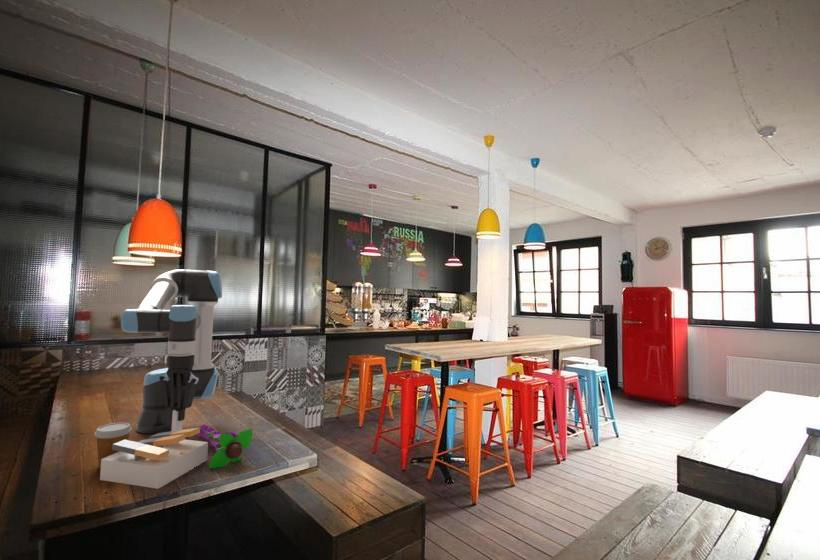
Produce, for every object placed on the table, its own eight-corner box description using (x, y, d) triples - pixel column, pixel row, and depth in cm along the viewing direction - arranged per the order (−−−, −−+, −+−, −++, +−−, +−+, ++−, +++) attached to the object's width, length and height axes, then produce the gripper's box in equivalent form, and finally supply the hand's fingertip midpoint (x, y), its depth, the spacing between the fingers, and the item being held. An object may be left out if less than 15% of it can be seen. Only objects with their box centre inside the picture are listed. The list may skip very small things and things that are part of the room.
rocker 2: (149, 442, 131) (148, 437, 131) (159, 437, 135) (158, 433, 135) (191, 436, 128) (190, 431, 128) (200, 432, 132) (199, 427, 132)
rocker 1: (112, 449, 118) (112, 444, 118) (124, 444, 122) (124, 439, 122) (157, 460, 115) (158, 454, 115) (168, 454, 119) (169, 449, 119)
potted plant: (223, 485, 124) (189, 459, 149) (267, 447, 135) (228, 428, 160) (203, 455, 121) (171, 433, 146) (250, 418, 132) (213, 403, 157)
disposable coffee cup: (105, 458, 131) (108, 421, 132) (136, 458, 132) (138, 422, 133) (84, 471, 122) (87, 431, 122) (117, 471, 123) (119, 432, 123)
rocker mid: (131, 449, 125) (131, 444, 125) (142, 444, 129) (142, 439, 129) (175, 443, 122) (174, 438, 122) (185, 439, 126) (184, 434, 126)
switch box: (100, 479, 117) (101, 454, 117) (155, 453, 137) (157, 431, 137) (158, 488, 113) (159, 462, 113) (207, 460, 133) (208, 437, 133)
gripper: (153, 354, 122) (148, 432, 121) (190, 357, 120) (186, 436, 119) (172, 351, 130) (168, 425, 129) (207, 354, 127) (203, 429, 126)
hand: (176, 430), depth 124 cm, fingers closed
